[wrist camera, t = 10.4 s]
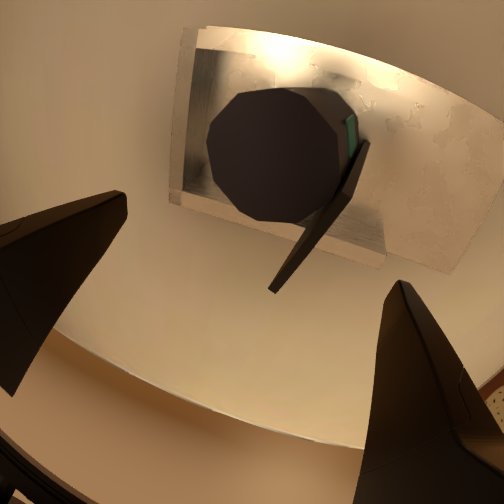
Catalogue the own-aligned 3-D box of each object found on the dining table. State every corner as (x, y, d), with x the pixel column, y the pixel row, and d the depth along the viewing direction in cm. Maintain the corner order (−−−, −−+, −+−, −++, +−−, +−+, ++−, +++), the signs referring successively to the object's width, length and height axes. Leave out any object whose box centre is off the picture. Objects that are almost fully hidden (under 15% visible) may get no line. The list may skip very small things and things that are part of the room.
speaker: (395, 161, 17) (403, 245, 9) (326, 204, 21) (278, 302, 13) (321, 65, 16) (258, 53, 8) (257, 117, 19) (158, 161, 11)
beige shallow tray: (518, 133, 13) (543, 149, 10) (448, 271, 21) (456, 300, 18) (209, 26, 16) (184, 22, 13) (190, 186, 24) (168, 206, 21)
